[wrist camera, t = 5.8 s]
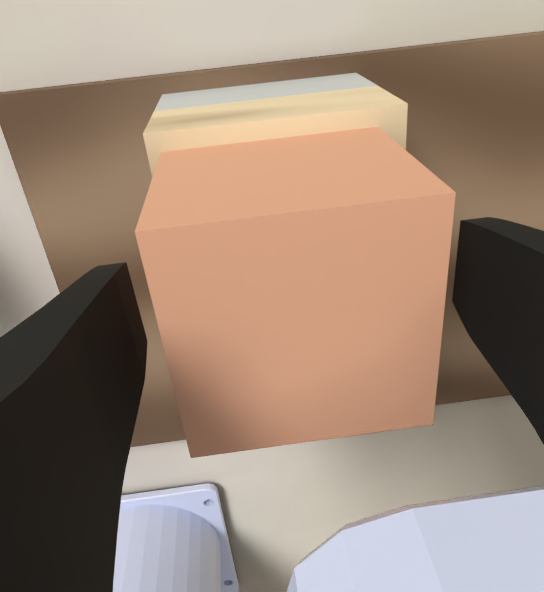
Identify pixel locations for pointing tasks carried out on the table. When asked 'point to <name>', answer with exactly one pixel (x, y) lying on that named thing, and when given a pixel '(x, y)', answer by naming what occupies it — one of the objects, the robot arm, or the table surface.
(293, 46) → the table surface
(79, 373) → the robot arm
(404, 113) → the slab top
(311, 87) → the slab bottom
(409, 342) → the block
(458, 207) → the board
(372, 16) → the table surface
